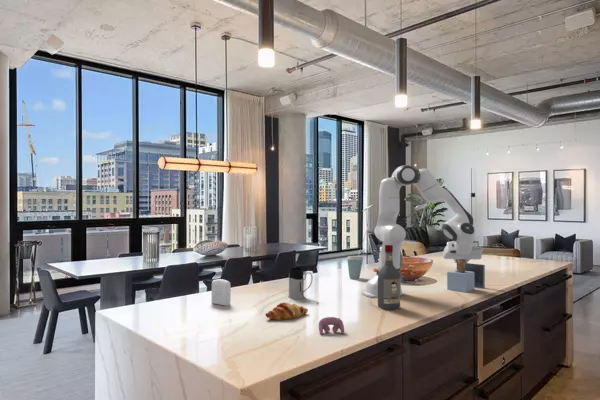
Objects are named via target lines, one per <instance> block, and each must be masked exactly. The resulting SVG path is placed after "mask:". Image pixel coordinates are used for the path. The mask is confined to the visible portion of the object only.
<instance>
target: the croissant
mask: <svg viewBox="0 0 600 400" xmlns="http://www.w3.org/2000/svg"><path fill="white" fill-rule="evenodd" d="M308 312H309V309H308V308H306V307H304V306H303V305H301V306H300V305H298V304H295V303H292V304H291V303H289V302H280V303H278V304H277V305H276V306H275V307H273V308H272V310H269V311H268V312H267V313H265V318H268V319H270V320H275V321H283V320H285V321H287V320H293V319H297V318H300V317H302V316H304V315H306V314H307V313H308ZM301 315H302V316H301ZM299 316H300V317H299Z"/></svg>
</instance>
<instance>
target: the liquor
mask: <svg viewBox="0 0 600 400" xmlns="http://www.w3.org/2000/svg"><path fill="white" fill-rule="evenodd" d="M392 252H393V245H385V265H384V266H383V267H382V268H381V270H380V271H379V272H378V297H377V306H378V308H380V309H382V310H385V309H386V310H387V311H393V310H394V311H395V310H399V308H400V307H401V295H400V283H401V282H400V273H399V271H398V270H397V269H396V268H395V267H394V266H393V257H392ZM386 310H385V311H386Z"/></svg>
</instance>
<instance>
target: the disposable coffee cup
mask: <svg viewBox="0 0 600 400" xmlns="http://www.w3.org/2000/svg"><path fill="white" fill-rule="evenodd" d="M346 260H347V269H348V275H349V279H352V280H359V279H360V277H361V271H362V266H363V260H364V258H363V256H361V255H348V256H347V258H346Z"/></svg>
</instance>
